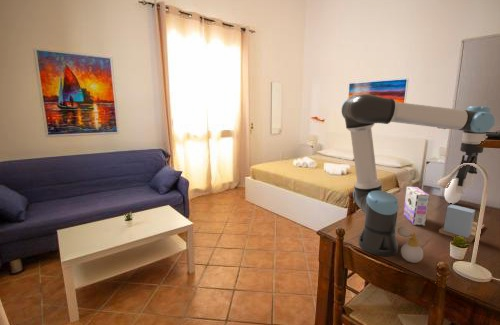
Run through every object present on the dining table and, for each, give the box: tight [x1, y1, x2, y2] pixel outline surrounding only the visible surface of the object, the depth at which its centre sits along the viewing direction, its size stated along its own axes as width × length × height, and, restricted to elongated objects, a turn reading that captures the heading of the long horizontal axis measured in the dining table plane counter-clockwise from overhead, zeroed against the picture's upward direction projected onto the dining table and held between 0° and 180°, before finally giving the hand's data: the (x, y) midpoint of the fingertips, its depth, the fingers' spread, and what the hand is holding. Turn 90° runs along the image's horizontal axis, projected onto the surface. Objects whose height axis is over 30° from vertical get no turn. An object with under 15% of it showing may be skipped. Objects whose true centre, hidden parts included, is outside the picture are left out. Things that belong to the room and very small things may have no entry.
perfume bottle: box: [397, 226, 424, 264], centre depth 100 cm, size 8×10×12 cm
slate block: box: [443, 204, 476, 238], centre depth 119 cm, size 5×9×12 cm, turn 38°
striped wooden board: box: [438, 221, 485, 243], centre depth 125 cm, size 24×12×1 cm, turn 128°
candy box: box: [403, 186, 430, 226], centre depth 134 cm, size 14×6×16 cm, turn 168°
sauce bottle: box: [444, 174, 462, 205], centre depth 156 cm, size 8×8×18 cm
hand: (463, 190), depth 115 cm, fingers open, 13 cm apart
